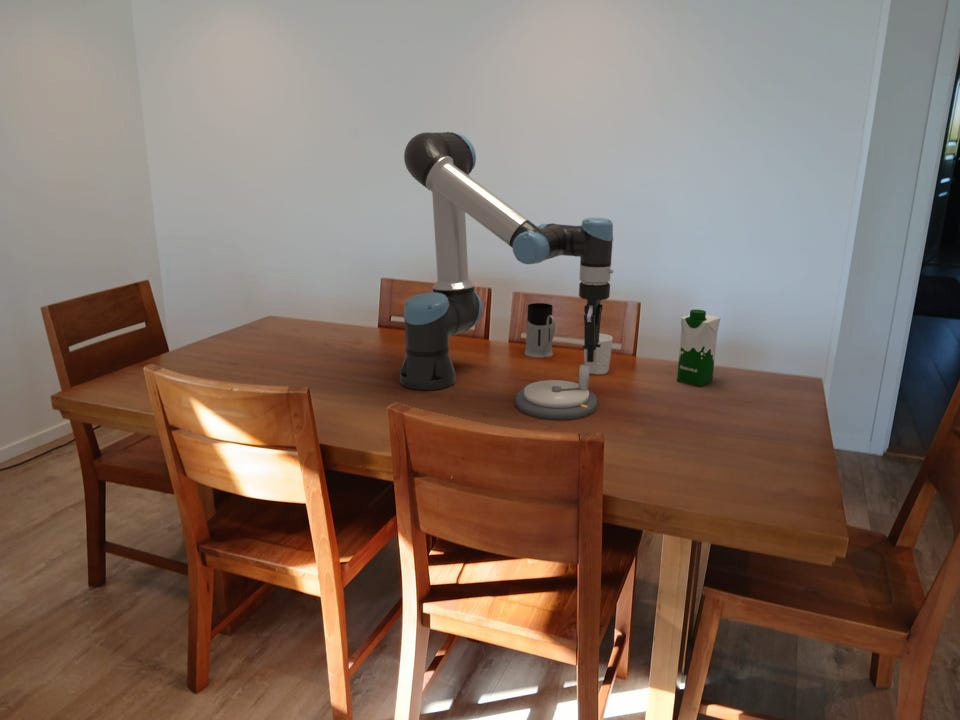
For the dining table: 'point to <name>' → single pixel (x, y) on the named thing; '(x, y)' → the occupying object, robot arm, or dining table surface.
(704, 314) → the milk carton
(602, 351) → the white cup
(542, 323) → the glass holder
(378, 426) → the dining table surface
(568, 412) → the stand base
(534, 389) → the cream crank wheel
